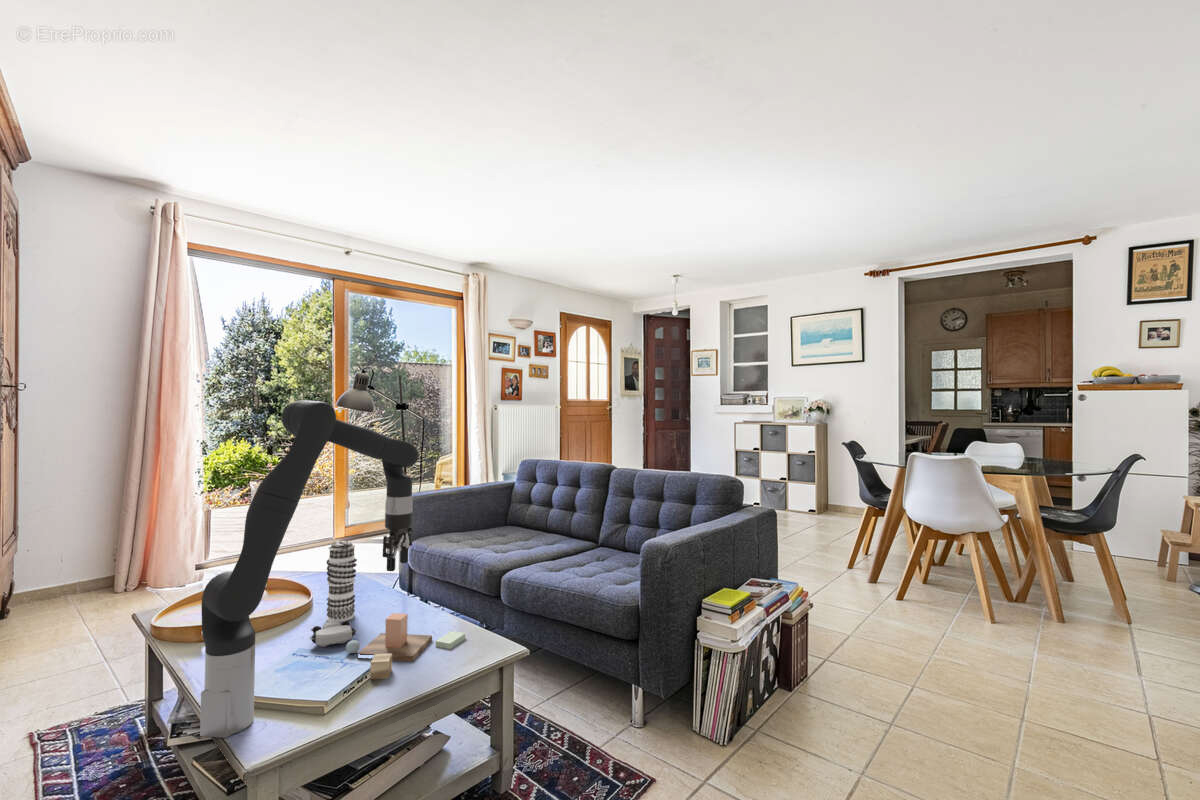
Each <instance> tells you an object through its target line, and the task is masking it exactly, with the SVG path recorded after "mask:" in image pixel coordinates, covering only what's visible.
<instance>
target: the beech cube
mask: <svg viewBox="0 0 1200 800" xmlns="http://www.w3.org/2000/svg"><path fill="white" fill-rule="evenodd" d="M392 671H393V660H392V654H376V655H374V657H373V659H371V660H370V677H369V678H370V680H379V679H389V678H390V676H391V673H392Z"/></svg>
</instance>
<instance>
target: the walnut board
mask: <svg viewBox="0 0 1200 800" xmlns="http://www.w3.org/2000/svg"><path fill="white" fill-rule="evenodd" d="M432 641H433V635H430V634H410V633H407V642H406V643H405V644H404V645H403V646H402V647H401V648H396V647H385V632H381V633H380V634H378V635H377V636H376V637H375V638H374V639H372V640H371V641H370V642H368V644H367V645H365V646H363V647H362V648H361V650H358V651H357V652H356V654H360V655H376V654H392V662H393V661H396V662H414V660H416V658H417V657H418V656H419V655H420V654H421V653H422V652H423V651H424V650H425V648H426V647H427V646H429V644H430V643H431V642H432Z"/></svg>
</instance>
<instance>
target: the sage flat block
mask: <svg viewBox="0 0 1200 800" xmlns="http://www.w3.org/2000/svg"><path fill="white" fill-rule="evenodd" d="M464 640H466V632H460V631H453V630H451V631H449V632H448V633H446V634H445V635H443V636H442V637H440V638H438V639H437V640H435V647H437V648H442V649H446V650H451V649H452V648H454V647H456V646H457V645H458V644H459V643H461V642H462V641H464Z"/></svg>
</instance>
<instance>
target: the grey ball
mask: <svg viewBox="0 0 1200 800" xmlns="http://www.w3.org/2000/svg"><path fill="white" fill-rule="evenodd" d="M360 648H361V646H360V643H359V640H356V639H355V640H354V639H352V640H350V641H347V644H346V646H345V650H346V652H347V653H348V654H349V653H354V654H357V653H358V652H359V651H360Z"/></svg>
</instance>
